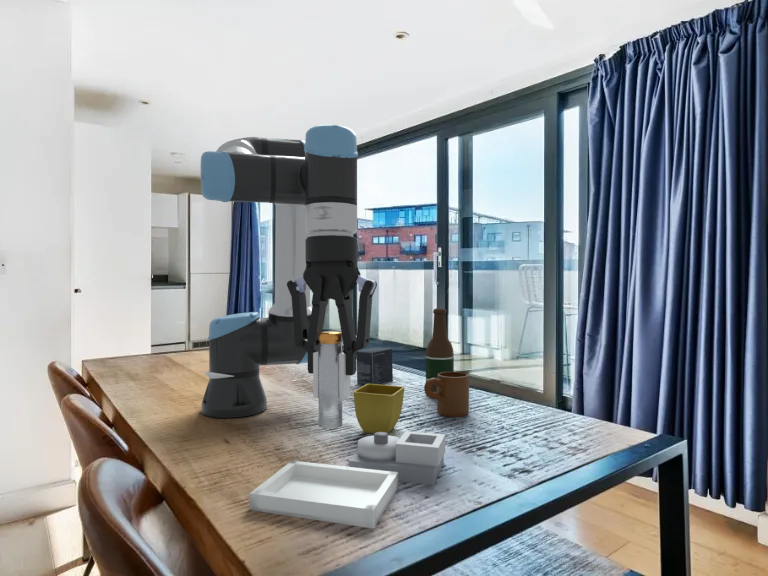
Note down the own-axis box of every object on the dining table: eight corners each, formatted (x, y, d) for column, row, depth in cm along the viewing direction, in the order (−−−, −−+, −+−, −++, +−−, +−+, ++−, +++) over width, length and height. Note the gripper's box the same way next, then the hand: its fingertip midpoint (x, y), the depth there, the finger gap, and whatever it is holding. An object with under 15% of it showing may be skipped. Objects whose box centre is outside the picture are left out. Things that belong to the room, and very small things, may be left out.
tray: (249, 511, 70) (249, 493, 70) (291, 475, 82) (291, 460, 82) (373, 529, 65) (373, 509, 65) (398, 488, 77) (398, 472, 77)
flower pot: (405, 427, 109) (405, 386, 109) (392, 439, 101) (392, 395, 100) (367, 423, 112) (367, 383, 111) (352, 435, 103) (352, 391, 103)
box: (376, 379, 161) (376, 346, 160) (393, 381, 157) (393, 348, 157) (355, 384, 152) (355, 350, 152) (373, 387, 148) (373, 352, 148)
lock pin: (315, 427, 72) (314, 333, 71) (324, 420, 75) (323, 331, 75) (337, 429, 71) (336, 334, 70) (345, 422, 74) (345, 331, 74)
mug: (434, 422, 112) (434, 380, 112) (415, 414, 119) (415, 375, 119) (475, 415, 119) (475, 375, 118) (455, 407, 125) (455, 370, 125)
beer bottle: (423, 392, 141) (423, 307, 141) (450, 392, 142) (450, 307, 142) (428, 399, 134) (428, 309, 133) (456, 398, 134) (457, 309, 134)
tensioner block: (348, 475, 82) (348, 441, 82) (367, 455, 92) (367, 424, 92) (436, 485, 78) (436, 449, 78) (446, 463, 88) (446, 430, 88)
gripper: (268, 235, 71) (269, 399, 72) (378, 231, 67) (378, 406, 67) (291, 239, 79) (292, 388, 79) (392, 236, 74) (392, 394, 75)
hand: (332, 396), depth 73 cm, fingers closed on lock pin, 3 cm apart
